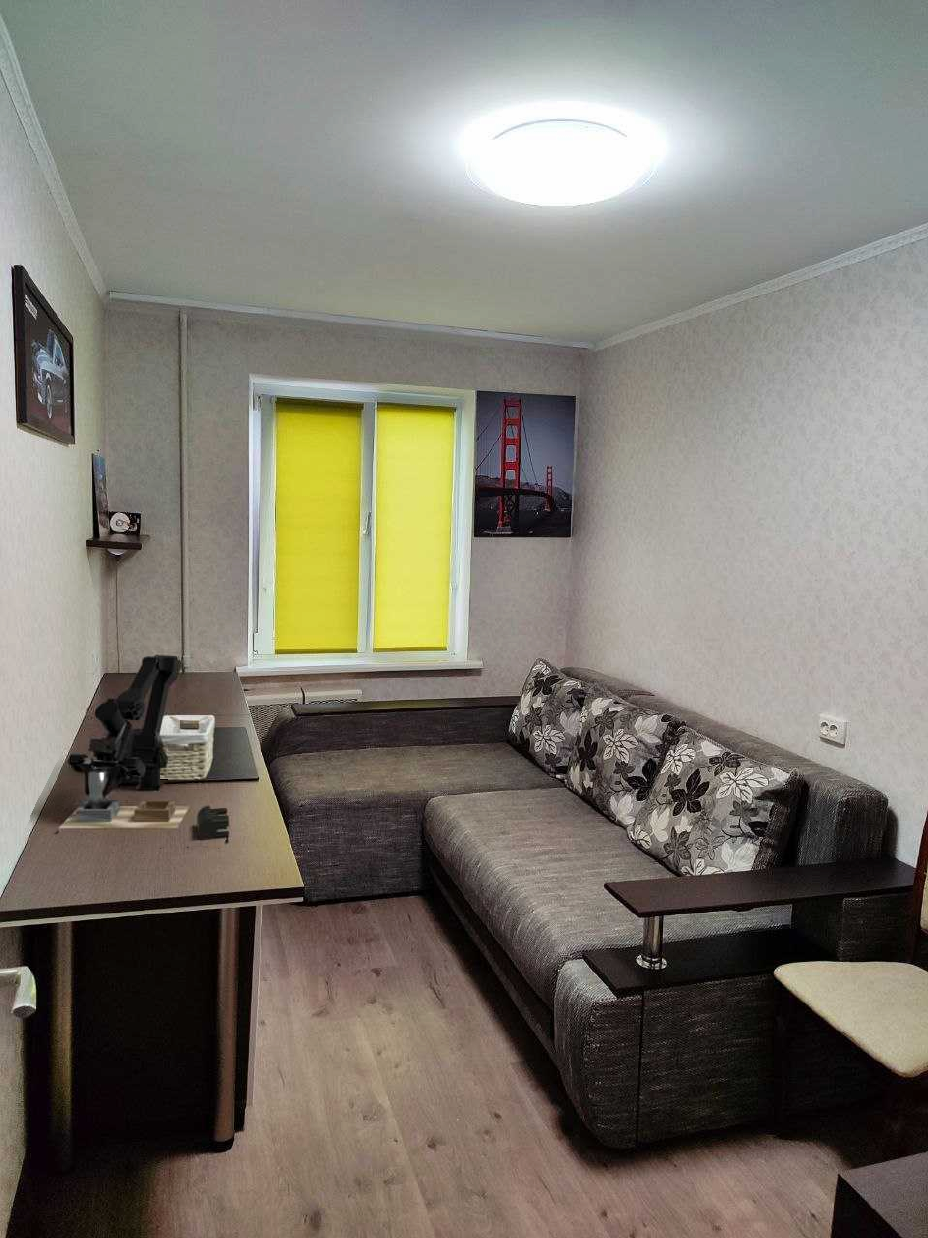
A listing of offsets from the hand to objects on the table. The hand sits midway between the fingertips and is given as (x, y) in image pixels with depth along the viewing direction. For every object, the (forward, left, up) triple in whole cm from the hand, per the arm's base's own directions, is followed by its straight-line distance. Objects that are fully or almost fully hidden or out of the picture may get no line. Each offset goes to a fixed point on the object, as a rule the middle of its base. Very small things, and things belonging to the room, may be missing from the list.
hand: (95, 795), depth 223 cm
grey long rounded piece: (-1, 0, -5) cm, 5 cm away
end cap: (+10, +30, -8) cm, 33 cm away
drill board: (-1, +7, -8) cm, 11 cm away
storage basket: (-48, +13, -8) cm, 50 cm away
